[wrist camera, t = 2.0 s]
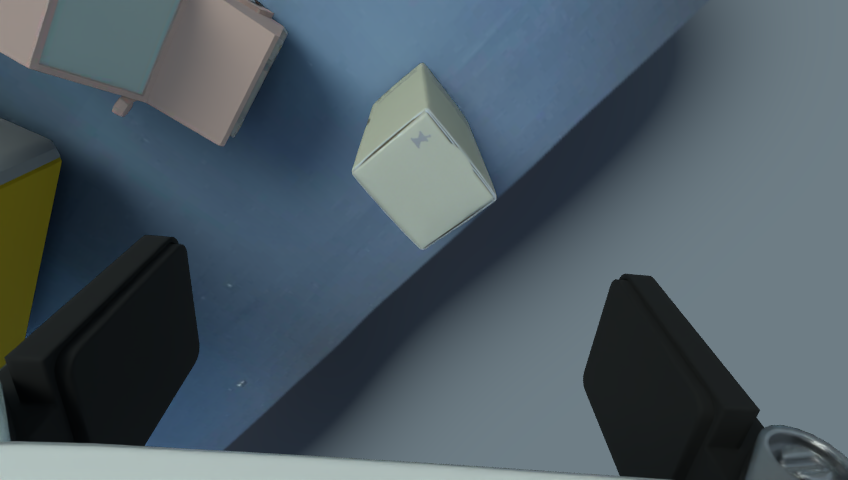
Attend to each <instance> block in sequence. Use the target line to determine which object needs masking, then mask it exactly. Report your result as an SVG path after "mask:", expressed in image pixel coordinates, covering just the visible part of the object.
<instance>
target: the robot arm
mask: <svg viewBox="0 0 848 480" xmlns="http://www.w3.org/2000/svg"><path fill="white" fill-rule="evenodd" d="M198 354H199V338H198V331H197V323H196V316H195V309H194V301H193V294H192V286H191V279H190V271H189V264H188V257H187V250H186V248H185V246H184V245H182V244H179V243H178V241H177V239H176V238H174V237H165V236H153V235H145V236H143V237H142V238H140V239H139V240H138V241H137V242H136V243H135V244H134V245H132V246H131V247H130V248H129V249H128V250H127V251H126V252H124V253H123V254H122V255H121V256H120V257H119V258H118V259H116V260H115V261H114V262H113V263H112V264H111V265H109V266H108V267H107V268H106V269H105V270H104V271H103V272H101V273H100V274H99V275H98V276H97V277H96V278H95V279H93V280H92V281H91V282H90V283H89V284H88V285H87V286H85V287H84V288H83V289H82V290H81V291H80V292H79V293H77V294H76V295H75V296H74V297H73V298H72V299H71V300H69V301H68V302H67V303H66V304H65V305H64V306H63V307H61V308H60V309H59V310H58V311H57V312H56V313H55V314H53V315H52V316H51V317H50V318H49V319H48V320H47V321H45V322H44V323H43V324H42V325H41V326H40V327H39V328H37V329H36V330H35V331H34V332H33V333H32V334H31V335H29V336H28V337H27V338H26V339H25V340H24V341H23V342H21V343H20V344H19V345H18V346H17V347H16V348H14V349H13V350H12V351H11V352H10V353H9V354H8V355H6V356H5V357H4V358H5V361H6V364H7V365H6V366H5V367H4V368H3V369H2V370H0V480H848V458H847V457H845V455H843V454H842V453H841V452H840V451H838V450H837V449H836V448H834V447H833V446H832V445H830V444H829V443H827V442H825V441H824V440H822V439H820V438H818V437H816V436H814V435H813V434H810V433H808V432H805V431H802V430H800V429H797V428H793V427H788V426H784V425H771V426H768V427H765V428H764V427H763V426H762V424H761V423H760V422H759V420H758V419H757V418H756V417H757V415H758V413H759V411H760V410H759V408H758V407H757V406H756V405H755V403H754V402H753V401H752V400H751V399H750V397H749V396H748V395H747V394H746V392H745V391H744V390H743V389H742V387H741V386H740V385H739V384H738V382H737V381H736V380H735V379H734V377H733V376H732V375H731V374H730V372H729V371H728V370H727V369H726V368H725V366H724V365H723V364H722V363H721V361H720V360H719V359H718V358H717V356H716V355H715V354H714V353H713V351H712V350H711V349H710V348H709V346H708V345H707V344H706V343H705V342H704V340H703V339H702V338H701V336H700V335H699V334H698V333H697V332H696V330H695V329H694V328H693V327H692V325H691V324H690V323H689V322H688V320H687V319H686V318H685V317H684V316H683V314H682V313H681V312H680V311H679V309H678V308H677V307H676V305H675V304H674V303H673V302H672V301H671V299H670V298H669V297H668V296H667V294H666V293H665V292H664V291H663V290H662V288H661V287H660V286H659V284H658V283H657V282H656V281H655V279H654V278H653V277H651V276H644V275H633V274H623V275H622V276H621V277H620V279H619V280H616V279H615V280H614V281H613V282H612V284H611V286H610V289H609V292H608V296H607V300H606V302H605V305H604V309H603V312H602V315H601V319H600V322H599V325H598V328H597V332H596V335H595V338H594V341H593V345H592V348H591V351H590V355H589V358H588V361H587V364H586V368H585V371H584V376H583V383H584V388H585V391H586V393H587V396H588V399H589V401H590V404H591V406H592V408H593V411H594V413H595V416H596V418H597V421H598V423H599V426H600V428H601V431H602V433H603V436H604V438H605V440H606V443H607V445H608V448H609V450H610V453H611V455H612V458H613V460H614V463H615V465H616V467H617V470H618V472H619V475H620V476H610V475H595V474H581V473H566V472H551V471H536V470H522V469H509V468H508V469H507V468H494V467H478V466H464V465H449V464H433V463H417V462H401V461H385V460H370V459H353V458H338V457H321V456H305V455H288V454H269V453H253V452H235V451H218V450H201V449H184V448H166V447H149V446H145V444H146V442H147V441H148V439H149V437H150V436H151V434H152V432H153V431H154V429H155V428H156V426H157V424H158V423H159V421H160V419H161V418H162V416H163V415H164V413H165V411H166V410H167V408H168V406H169V405H170V403H171V402H172V400H173V398H174V397H175V395H176V393H177V392H178V390H179V388H180V387H181V385H182V384H183V382H184V380H185V379H186V377H187V375H188V374H189V372H190V371H191V369H192V367H193V366H194V364H195V362H196V360H197V358H198Z"/></svg>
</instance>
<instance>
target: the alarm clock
mask: <svg viewBox="0 0 848 480" xmlns="http://www.w3.org/2000/svg"><path fill="white" fill-rule="evenodd" d="M60 157H61V156H60V154H59V152H58V150H57V148H56V147H55V145H54V143H53V141H51V140H49V139H47V138H45V137H43V136H41V135H38V134H36V133H34V132H32V131H29V130H27V129H25V128H22V127H20V126H18V125H16V124H13V123H11V122H9V121H7V120H4V119H2V118H0V370H2V369H3V368H4V367H5V366H6V365H7V364H6V361H5V358H4V357H5V356H6V355H8V354H9V353H10V352H11V351H12V350H13V349H14V348H16V347H17V346H18V345H19V344H20V343H21V342H23V341H24V340H25V336H26V331H27V326H28V322H29V317H30V312H31V307H32V302H33V298H34V293H35V288H36V283H37V278H38V273H39V269H40V264H41V259H42V254H43V249H44V245H45V240H46V235H47V230H48V225H49V220H50V216H51V211H52V206H53V201H54V196H55V192H56V187H57V182H58V177H59V172H60V167H61V163H62V160H61V158H60Z"/></svg>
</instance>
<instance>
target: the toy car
mask: <svg viewBox="0 0 848 480" xmlns="http://www.w3.org/2000/svg"><path fill="white" fill-rule="evenodd" d="M273 14H274V13H272V12H271V11H269V10H268V9H266V8H264V6H263V5H262V4H261V3H260V2H258V1H257V0H0V52H1V53H3V54H5V55H6V56H8V57H10V58H12V59H13V60H15V61H17V62H19V63H20V64H22V65H24V66H26V67H27V68H29V69H33V70H36V71H39V72H43V73H46V74H50V75H53V76H56V77H60V78H63V79H67V80H70V81H73V82H77V83H80V84H84V85H87V86H91V87H94V88H97V89H101V90H104V91H108V92H111V93H114V94H118V95H121V97H120V98H119V99H118V101H117V102H116V103H115V105H114V107H113V109H112V112H114V113H115V114H117V115H119V116H122V117H124V116H125V115H126V114H127V113H128V112H129V111H130V109H131V108H132V106H133V102H135V101H137V100H138V101H142V102H145V103H147V104H149V105H151V106H152V107H154V108H156V109H158V110H159V111H161V112H163V113H164V114H166V115H168V116H169V117H171V118H173V119H175V120H176V121H178V122H180V123H181V124H183V125H185V126H186V127H188V128H190V129H192V130H193V131H195V132H197V133H198V134H200V135H202V136H203V137H205V138H207V139H209V140H210V141H212V142H214V143H215V144H217V145H219V146H225V144H226V142H227V140H228V138H229V136H231V137H233V138H234V137H235V136H236V134H237V133H238V131H239V129H240V127H241V125H242V123H243V121H244V119H245V117H246V115H247V113H248V111H249V109H250V107H251V105H252V103H253V101H254V99H255V97H256V95H257V93H258V91H259V89H260V87H261V85H262V83H263V81H264V79H265V77H266V75H267V74H268V72H269V70H270V68H271V66H272V64H273V62H274V60H275V58H276V56H277V55H278V53H279V51H280V49H281V47H282V45H283V42H284V40H285V38H286V36H287V34H288V32H287V30H286V29H285V27H284V26H282V25H281V24H279V23H278V22H276V21H275V20H273V19H272V16H273Z"/></svg>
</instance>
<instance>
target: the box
mask: <svg viewBox="0 0 848 480" xmlns="http://www.w3.org/2000/svg"><path fill="white" fill-rule="evenodd" d="M352 174H353V176H354V177H355V178H356V180H357V181H358V182H359V183H360V184H361V186H362V187H363V188H364V189H365V190H366V191H367V193H368V194H369V195H370V196H371V197H372V198H373V199H374V200H375V202H376V203H377V204H378V205H379V206H380V207H381V208H382V210H383V211H384V212H385V213H386V214H387V215H388V216H389V217H390V218H391V219H392V221H393V222H394V223H395V224H396V225H397V226H398V227H399V228H400V229H401V230H402V231H403V232H404V233H405V234H406V235H407V236H408V237H409V238H410V239H411V240H412V241H413V242H414V243H415V244H416V245H417V246H418V248H420V249H421V250H424V249H426V248H428V247H429V246H431V245H432V244H434V243H435V242H436V241H438V240H440V239H441V238H443V237H444V236H446V235H447V234H449V233H451V232H452V231H453V230H455V229H456V228H458V227H459V226H461V225H462V224H464V223H465V222H467V221H468V220H470V219H471V218H472V217H474V216H475V215H477V214H478V213H479V212H481V211H482V210H484V209H485V208H486V207H488V206H489V205H491V204H492V203H493V202H495V201H496V200H497V195H496V192H495V189H494V187H493V184H492V181H491V179H490V176H489V174H488V171H487V169H486V166H485V164H484V161H483V159H482V156H481V154H480V151H479V149H478V146H477V144H476V142H475V139H474V137H473V134H472V132H471V129H470V126H469V124H468V122H467V120H466V119H465V117H464V116H463V114H462V113H461V111H460V110H459V108H458V107H457V106H456V104H455V103H454V102H453V100H452V99H451V97H450V96H449V95H448V93H447V92H446V91H445V90H444V88H443V87H442V86H441V84H440V83H439V82H438V80H437V79H436V78H435V77H434V75H433V74H432V73H431V71H430V70H429V69H428V68H427V66H426V65H425V64H424V63H421V64H419V65H418V66H417V67H416V68H415V69H413V70H412V71H411V72H410V73H408V74H407V75H406V76H405V77H404V78H402V79H401V80H400V81H399V82H398V83H396V84H395V85H394V86H393V87H392V88H391V89H390V90H388V91H387V92H386V93H385V94H384V95H383V96H382V97H381V98H380V99H379V100H377V101H376V102H375V103H374V104H373V107H372V110H371V113H370V116H369V119H368V122H367V126H366V128H365V131H364V135H363V137H362V140H361V144H360V147H359V150H358V153H357V156H356V159H355V162H354V165H353V169H352Z"/></svg>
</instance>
